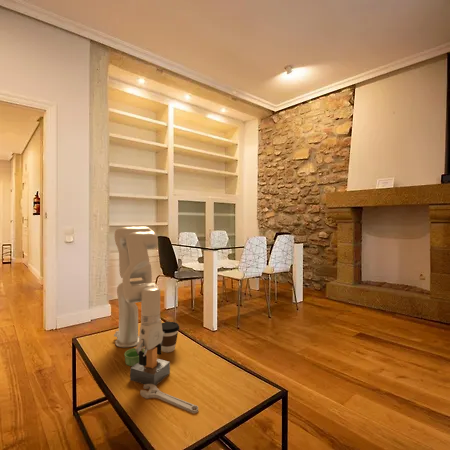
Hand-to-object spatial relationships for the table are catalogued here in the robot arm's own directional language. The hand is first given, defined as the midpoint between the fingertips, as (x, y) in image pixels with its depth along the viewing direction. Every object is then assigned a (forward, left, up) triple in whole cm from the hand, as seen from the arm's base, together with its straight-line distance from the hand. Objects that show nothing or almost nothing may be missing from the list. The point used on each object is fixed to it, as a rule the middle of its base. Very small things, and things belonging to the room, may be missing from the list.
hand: (150, 359), depth 117 cm
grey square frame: (0, 0, -7) cm, 7 cm away
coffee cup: (-7, +23, -7) cm, 25 cm away
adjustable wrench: (+15, -10, -8) cm, 20 cm away
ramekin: (-14, +7, -8) cm, 17 cm away
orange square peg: (0, 0, -7) cm, 7 cm away
